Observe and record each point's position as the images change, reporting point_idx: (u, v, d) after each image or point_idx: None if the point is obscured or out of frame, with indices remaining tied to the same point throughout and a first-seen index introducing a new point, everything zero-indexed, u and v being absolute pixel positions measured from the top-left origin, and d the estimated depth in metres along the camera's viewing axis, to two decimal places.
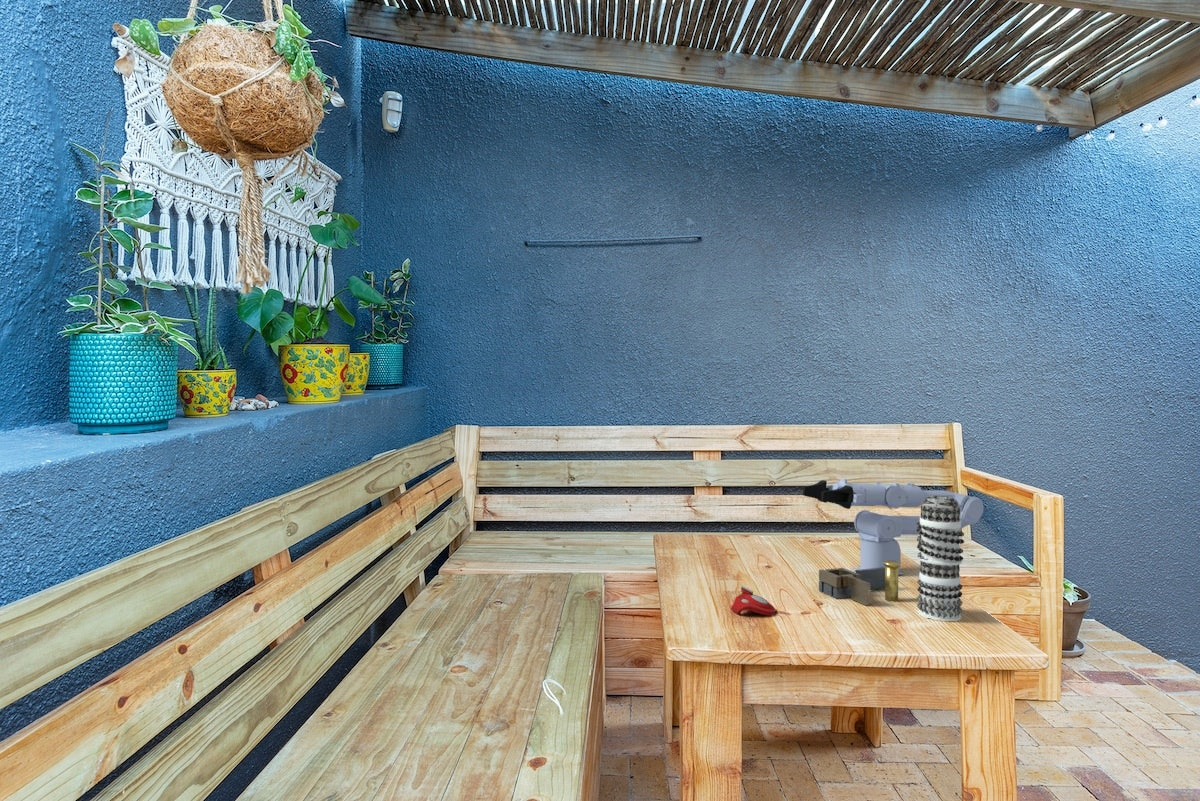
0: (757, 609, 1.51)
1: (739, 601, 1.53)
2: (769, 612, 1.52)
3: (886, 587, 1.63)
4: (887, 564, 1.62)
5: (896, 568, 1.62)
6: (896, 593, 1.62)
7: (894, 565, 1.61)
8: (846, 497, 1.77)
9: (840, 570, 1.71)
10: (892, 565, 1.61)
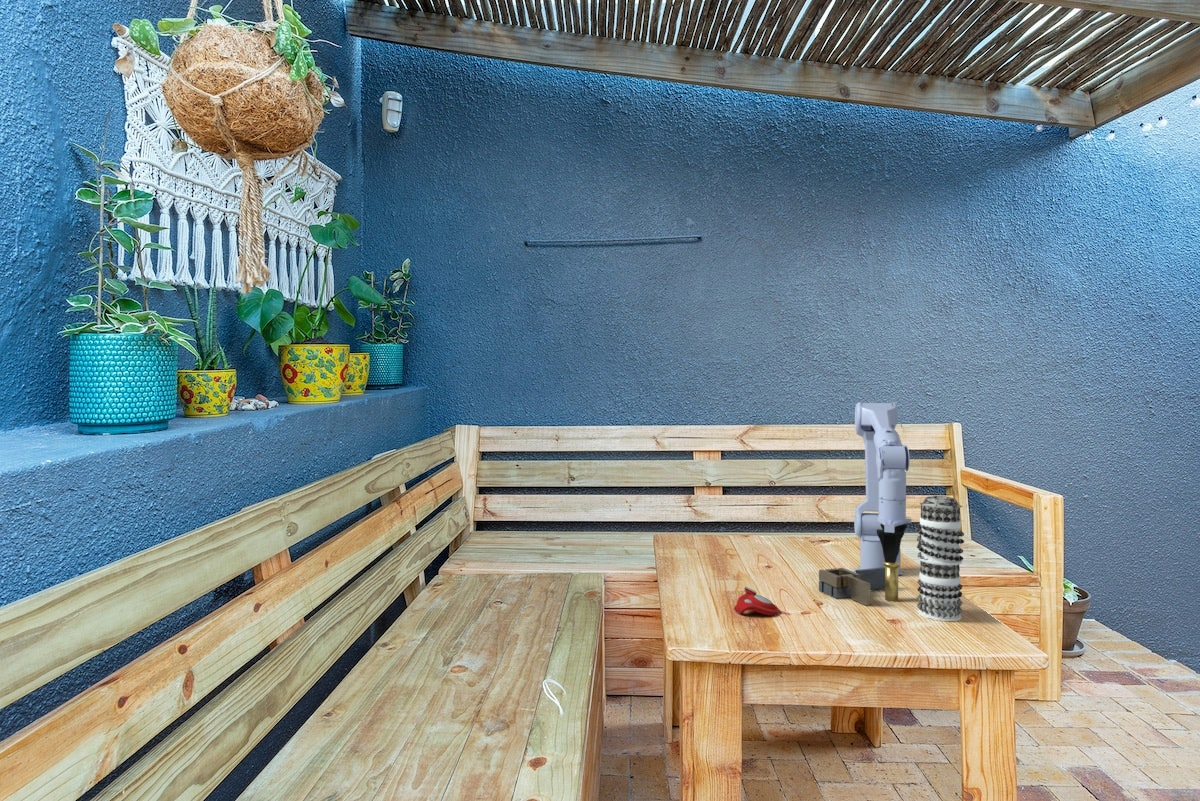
0: (760, 609, 1.51)
1: (742, 602, 1.53)
2: (772, 612, 1.52)
3: (886, 587, 1.63)
4: (887, 564, 1.62)
5: (896, 568, 1.62)
6: (896, 593, 1.62)
7: (894, 565, 1.61)
8: None
9: (840, 570, 1.71)
10: (892, 565, 1.61)
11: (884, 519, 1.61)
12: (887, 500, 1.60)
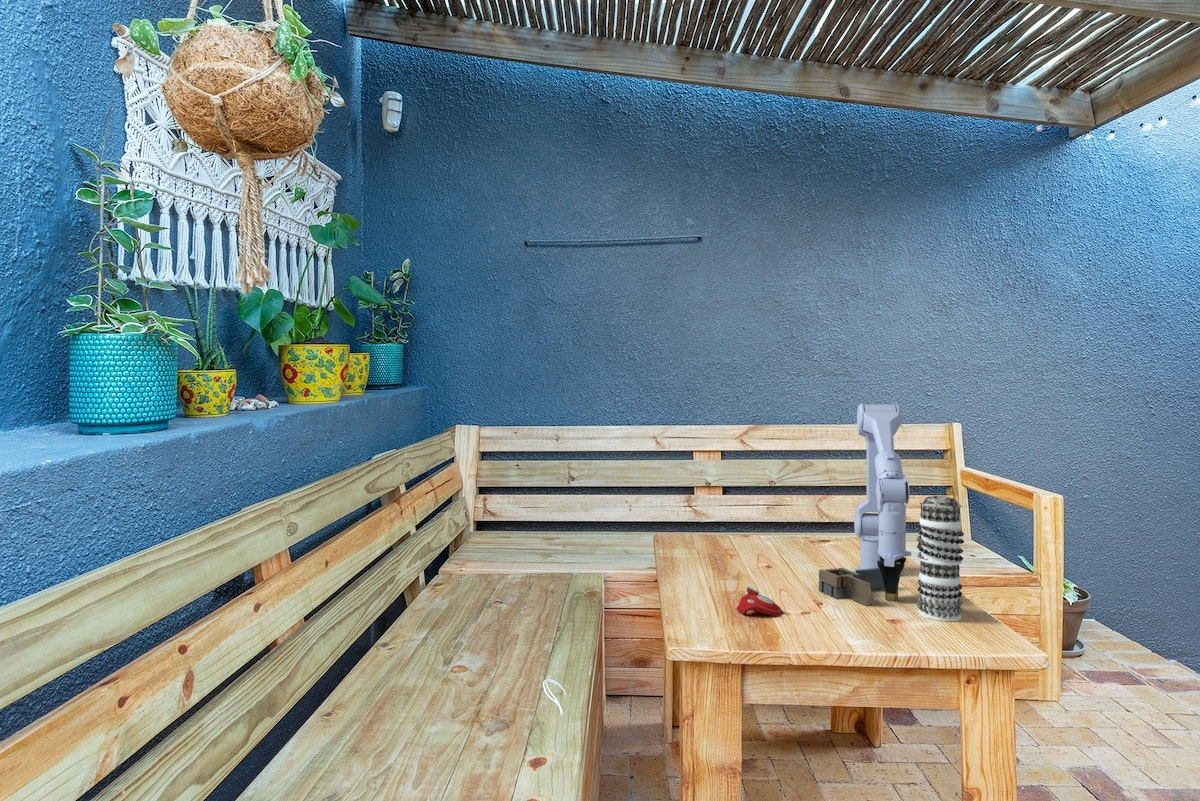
0: (763, 609, 1.51)
1: (745, 602, 1.53)
2: (775, 612, 1.52)
3: None
4: None
5: None
6: (896, 593, 1.62)
7: None
8: None
9: (840, 570, 1.71)
10: None
11: (884, 552, 1.61)
12: (887, 533, 1.61)
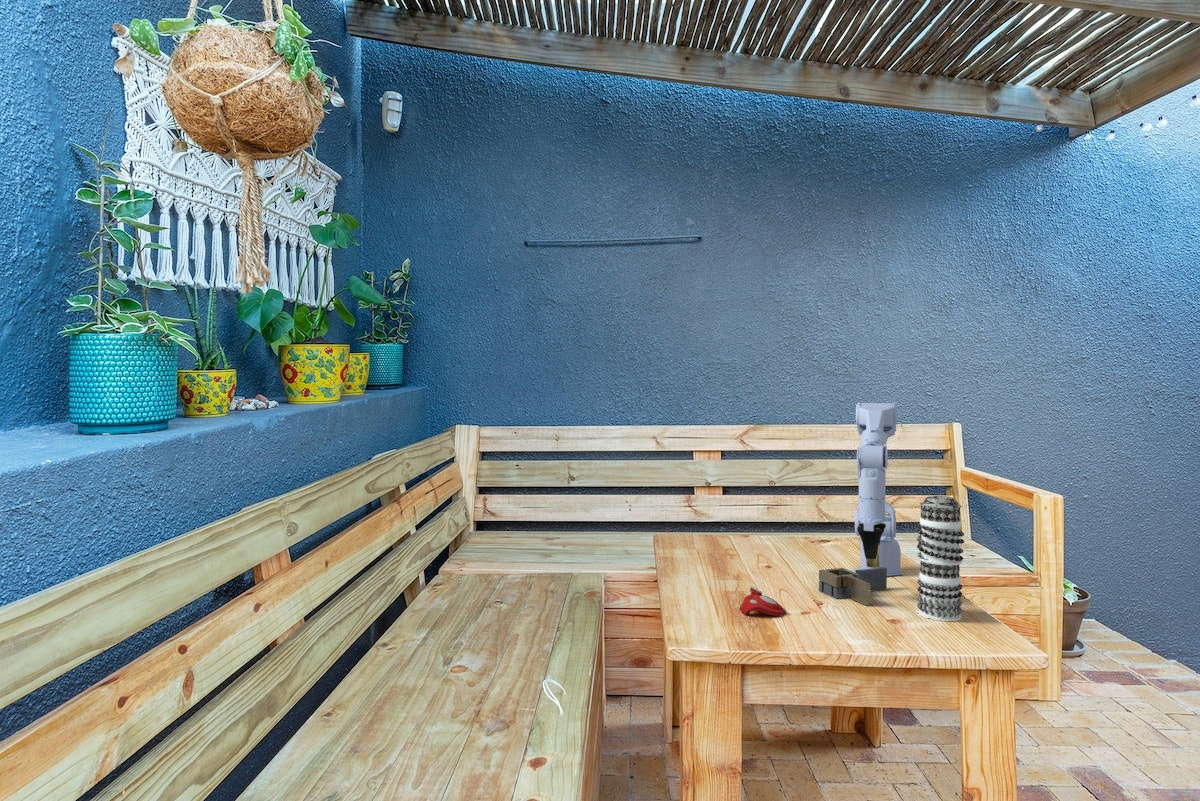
0: (766, 610, 1.51)
1: (747, 602, 1.53)
2: (778, 613, 1.52)
3: None
4: None
5: None
6: (877, 559, 1.63)
7: None
8: None
9: (840, 570, 1.71)
10: None
11: (864, 518, 1.63)
12: (867, 499, 1.62)
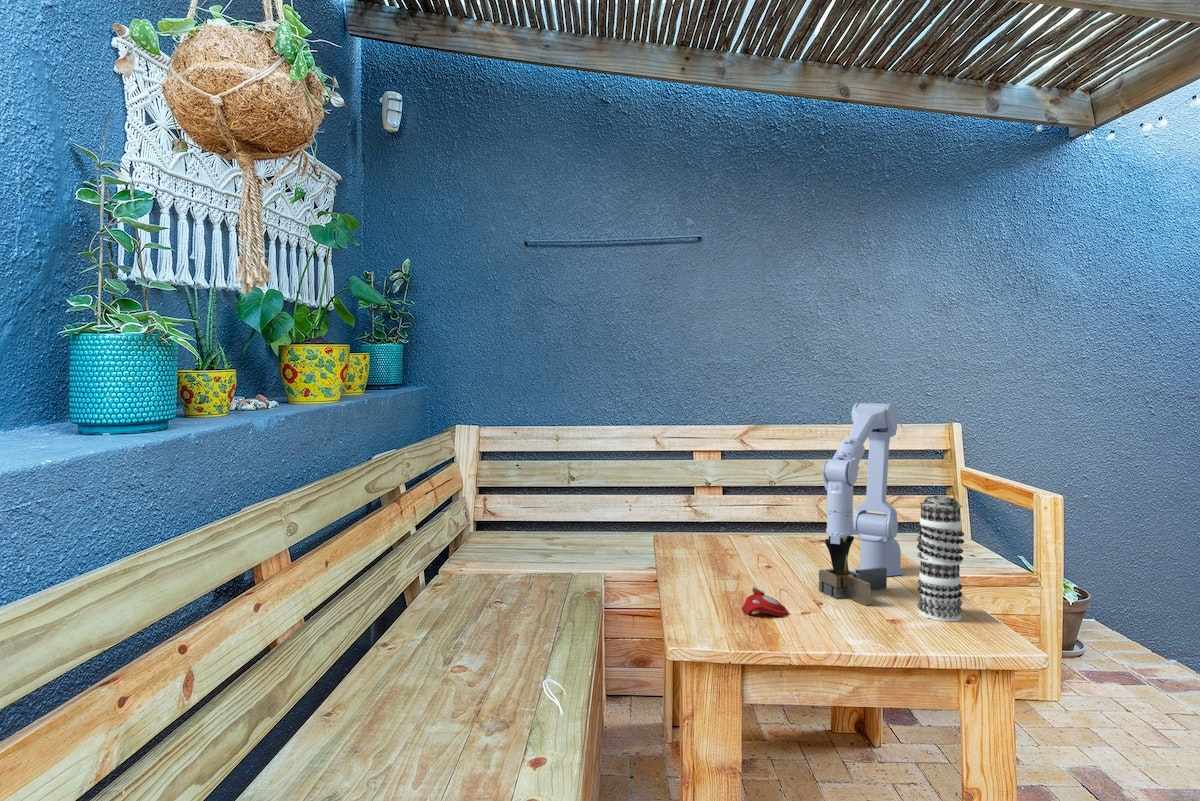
0: (768, 610, 1.51)
1: (750, 602, 1.53)
2: (780, 613, 1.52)
3: None
4: None
5: (843, 541, 1.67)
6: (846, 566, 1.66)
7: None
8: None
9: None
10: None
11: (831, 530, 1.66)
12: (834, 512, 1.66)
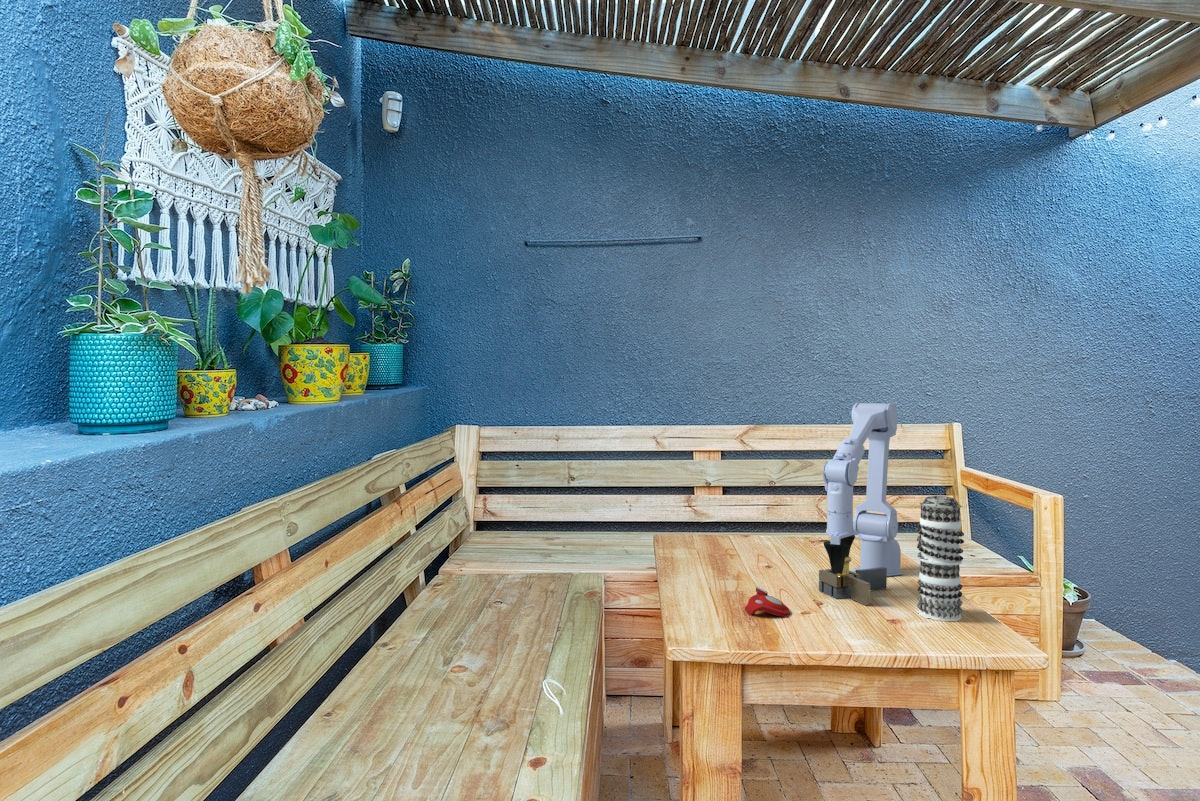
0: (771, 610, 1.51)
1: (753, 602, 1.53)
2: (783, 613, 1.51)
3: None
4: None
5: (847, 563, 1.66)
6: None
7: (845, 560, 1.66)
8: None
9: None
10: None
11: (831, 531, 1.66)
12: (834, 513, 1.66)
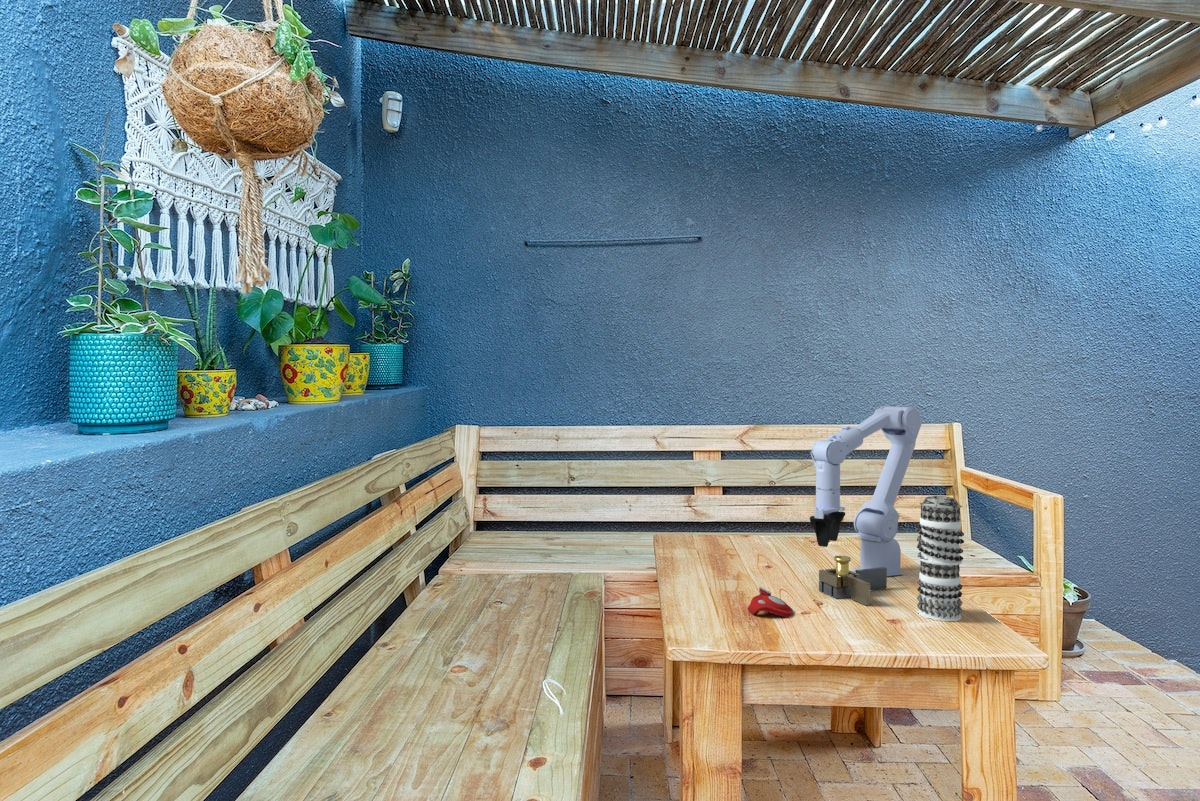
0: (773, 610, 1.51)
1: (755, 602, 1.53)
2: (786, 613, 1.51)
3: None
4: (837, 559, 1.66)
5: (846, 563, 1.66)
6: None
7: (844, 560, 1.66)
8: None
9: None
10: (842, 560, 1.66)
11: (819, 507, 1.77)
12: (821, 489, 1.76)
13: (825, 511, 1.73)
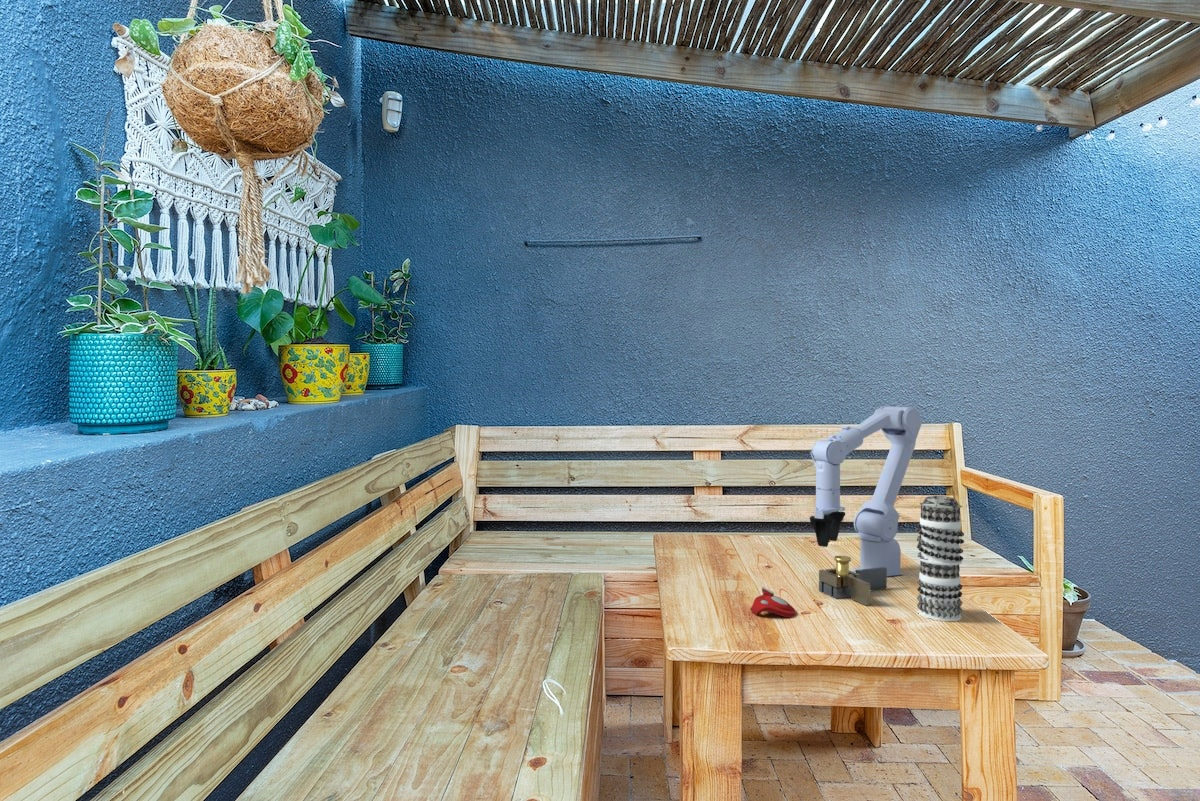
0: (776, 610, 1.51)
1: (758, 602, 1.52)
2: (789, 614, 1.51)
3: None
4: (838, 559, 1.66)
5: (846, 563, 1.66)
6: None
7: (844, 560, 1.66)
8: None
9: None
10: (842, 560, 1.66)
11: (819, 507, 1.77)
12: (821, 489, 1.76)
13: (825, 511, 1.73)
